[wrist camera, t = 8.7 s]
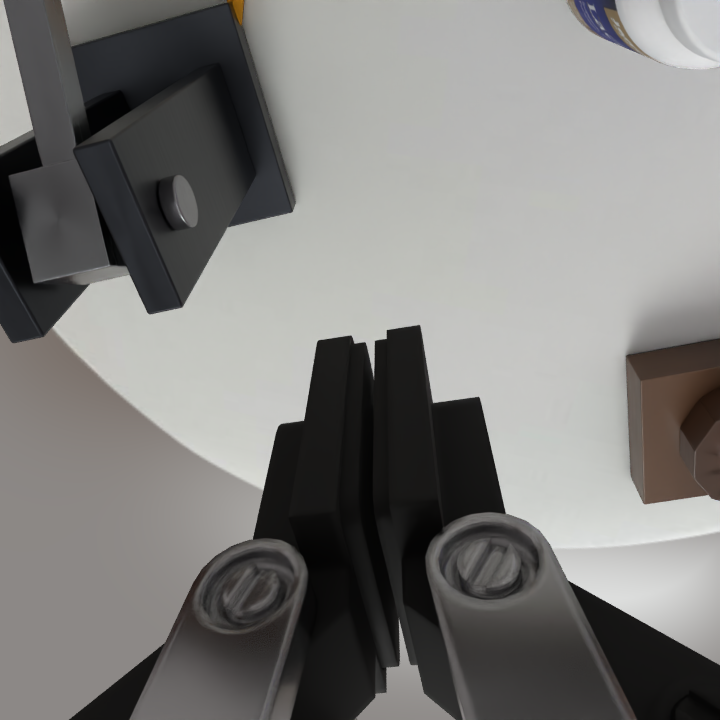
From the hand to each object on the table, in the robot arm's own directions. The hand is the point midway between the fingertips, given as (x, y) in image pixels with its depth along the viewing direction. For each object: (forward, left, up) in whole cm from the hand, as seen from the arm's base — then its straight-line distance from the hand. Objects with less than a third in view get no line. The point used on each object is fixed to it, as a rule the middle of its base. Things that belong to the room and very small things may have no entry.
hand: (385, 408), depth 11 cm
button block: (+17, +14, -19) cm, 29 cm away
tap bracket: (-2, -8, -19) cm, 21 cm away
